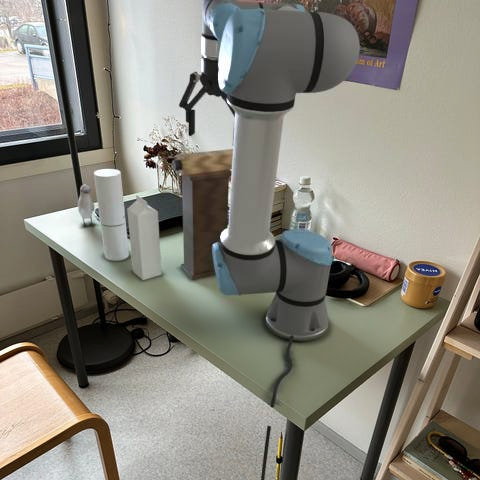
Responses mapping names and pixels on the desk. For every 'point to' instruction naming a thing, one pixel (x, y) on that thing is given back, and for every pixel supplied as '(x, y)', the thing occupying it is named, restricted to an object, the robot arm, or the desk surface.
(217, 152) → the wooden plank
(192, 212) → the wooden pedestal column
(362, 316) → the desk surface
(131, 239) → the milk
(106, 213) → the cylindrical container
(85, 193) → the bird
